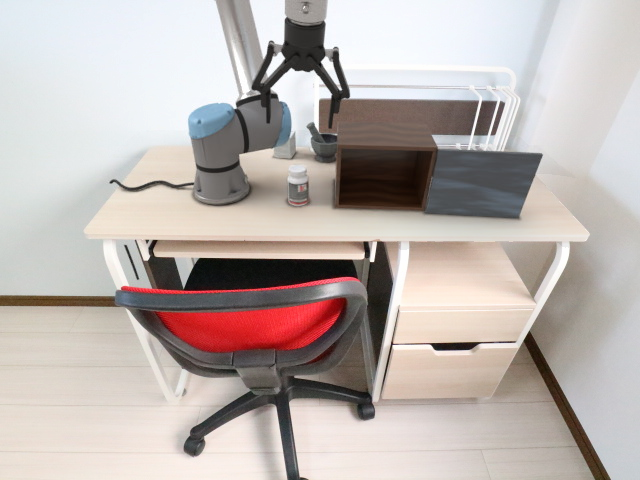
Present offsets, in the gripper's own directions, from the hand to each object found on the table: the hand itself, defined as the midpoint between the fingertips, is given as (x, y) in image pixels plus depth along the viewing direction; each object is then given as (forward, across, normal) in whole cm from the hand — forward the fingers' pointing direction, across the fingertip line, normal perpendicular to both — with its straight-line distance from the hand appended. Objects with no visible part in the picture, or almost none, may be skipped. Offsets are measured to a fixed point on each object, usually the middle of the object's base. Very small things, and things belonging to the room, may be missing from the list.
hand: (299, 122), depth 85 cm
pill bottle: (+26, +1, +2) cm, 26 cm away
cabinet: (+25, +23, +6) cm, 34 cm away
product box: (+32, -4, +32) cm, 45 cm away
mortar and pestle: (+31, +8, +29) cm, 43 cm away
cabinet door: (+21, +47, -1) cm, 51 cm away
